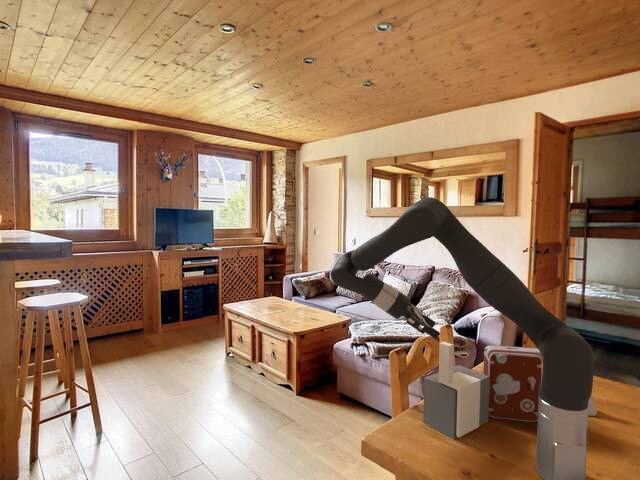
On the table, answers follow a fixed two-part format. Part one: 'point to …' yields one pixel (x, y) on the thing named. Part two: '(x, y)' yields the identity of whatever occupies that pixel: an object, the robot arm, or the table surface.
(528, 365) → the brown boxy piece
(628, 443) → the table surface
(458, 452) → the table surface
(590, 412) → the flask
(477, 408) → the grooved cream block
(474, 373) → the camera housing
